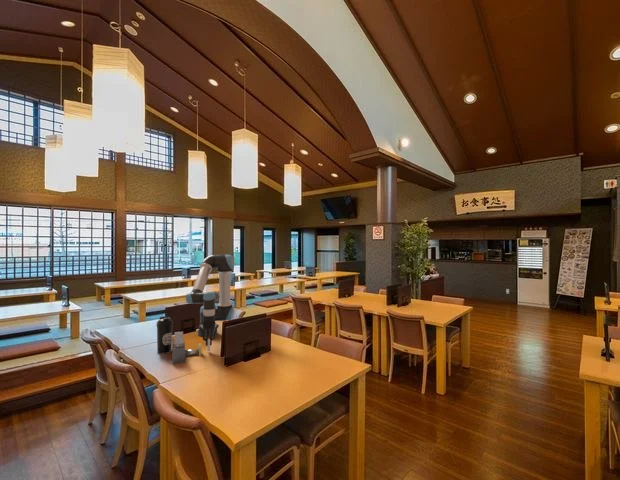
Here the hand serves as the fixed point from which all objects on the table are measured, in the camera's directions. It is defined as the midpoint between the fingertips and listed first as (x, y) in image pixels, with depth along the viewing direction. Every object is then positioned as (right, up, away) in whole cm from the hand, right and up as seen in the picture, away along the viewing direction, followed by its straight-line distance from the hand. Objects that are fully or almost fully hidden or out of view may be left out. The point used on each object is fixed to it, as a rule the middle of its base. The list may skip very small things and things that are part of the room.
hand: (208, 350), depth 205 cm
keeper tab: (-14, +9, -14) cm, 22 cm away
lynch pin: (-10, -2, -5) cm, 11 cm away
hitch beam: (-17, -1, -9) cm, 19 cm away
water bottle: (-31, -2, +2) cm, 31 cm away
